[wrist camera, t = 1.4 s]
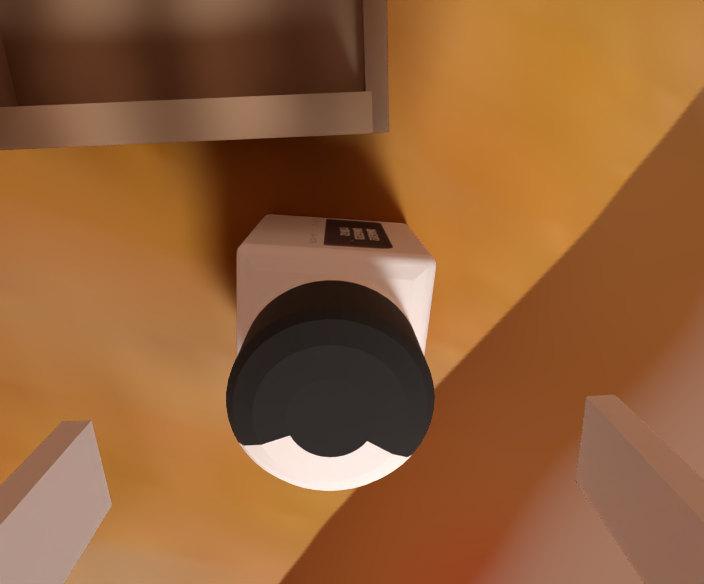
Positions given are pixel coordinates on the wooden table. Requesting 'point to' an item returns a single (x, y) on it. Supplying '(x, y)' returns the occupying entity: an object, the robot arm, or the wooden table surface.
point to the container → (331, 349)
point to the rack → (190, 70)
